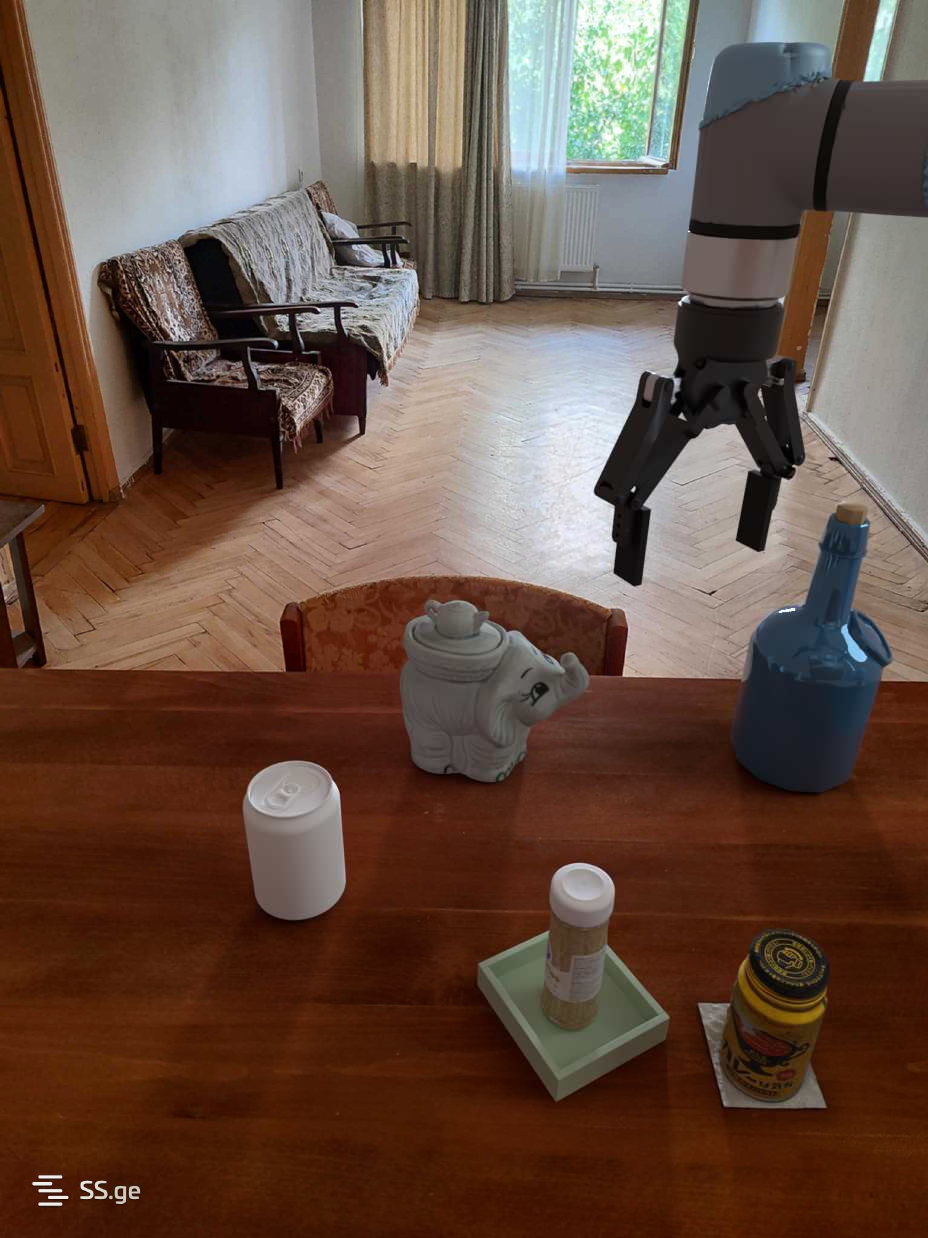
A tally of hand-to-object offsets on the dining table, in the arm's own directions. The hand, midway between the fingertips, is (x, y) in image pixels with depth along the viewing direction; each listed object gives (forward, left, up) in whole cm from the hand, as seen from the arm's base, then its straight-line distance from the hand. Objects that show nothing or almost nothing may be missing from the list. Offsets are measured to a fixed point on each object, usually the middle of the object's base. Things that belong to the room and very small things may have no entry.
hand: (690, 562), depth 74 cm
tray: (-14, +20, -29) cm, 38 cm away
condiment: (-24, +10, -29) cm, 39 cm away
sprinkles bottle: (-14, +20, -28) cm, 37 cm away
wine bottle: (0, -20, -29) cm, 35 cm away
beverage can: (+8, +34, -29) cm, 45 cm away
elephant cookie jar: (+16, +10, -29) cm, 34 cm away
